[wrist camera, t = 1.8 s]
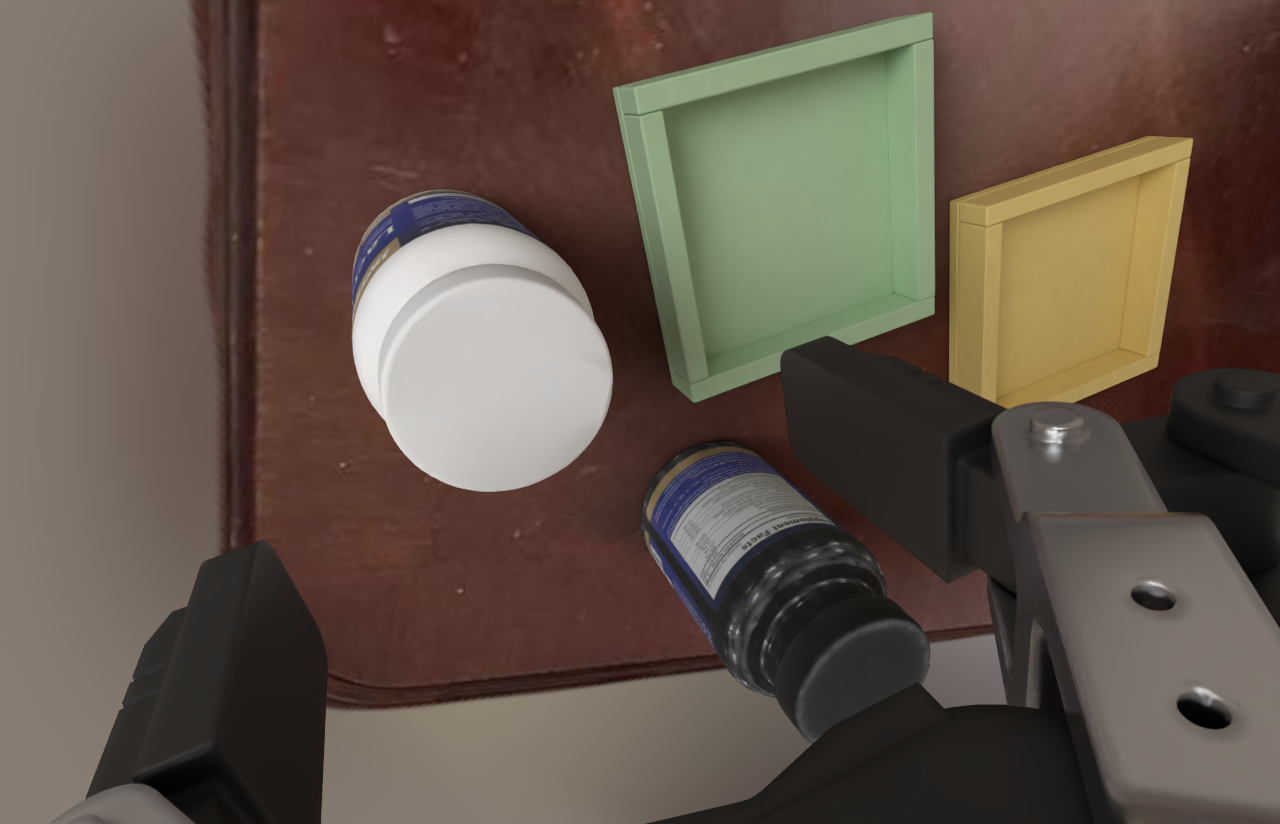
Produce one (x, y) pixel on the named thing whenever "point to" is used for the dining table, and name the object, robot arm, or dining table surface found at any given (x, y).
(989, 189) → the yellow tray
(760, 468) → the pill bottle
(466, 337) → the pill bottle
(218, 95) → the dining table surface
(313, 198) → the dining table surface
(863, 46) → the green tray
